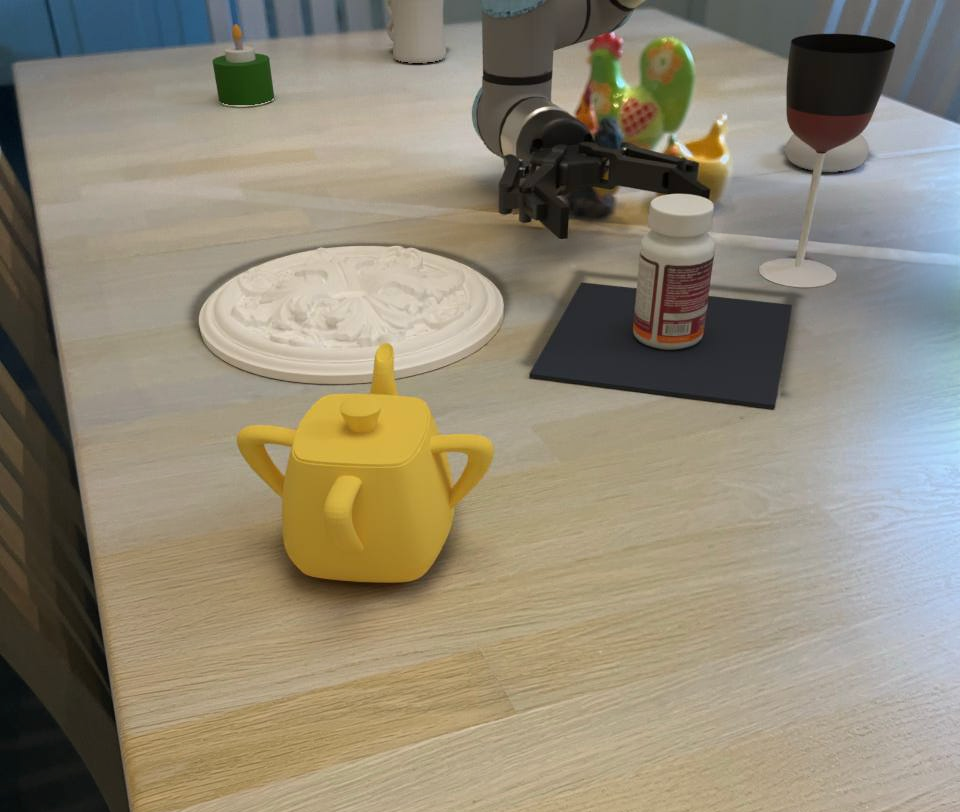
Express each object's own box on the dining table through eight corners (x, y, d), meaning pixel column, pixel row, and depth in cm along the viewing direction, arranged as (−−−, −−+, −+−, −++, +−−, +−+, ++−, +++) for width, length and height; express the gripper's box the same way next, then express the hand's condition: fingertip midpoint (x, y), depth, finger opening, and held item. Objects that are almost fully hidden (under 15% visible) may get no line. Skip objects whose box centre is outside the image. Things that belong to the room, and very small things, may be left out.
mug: (457, 58, 173) (456, -11, 166) (419, 67, 168) (416, -3, 161) (407, 48, 179) (404, -19, 172) (369, 57, 174) (364, -12, 168)
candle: (220, 109, 149) (207, 31, 143) (218, 95, 155) (205, 20, 149) (276, 105, 151) (266, 28, 144) (272, 91, 157) (262, 17, 150)
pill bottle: (714, 332, 89) (734, 200, 82) (682, 358, 86) (700, 222, 78) (652, 316, 92) (666, 186, 85) (619, 340, 88) (630, 206, 81)
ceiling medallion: (177, 282, 100) (170, 250, 98) (442, 242, 108) (441, 211, 106) (234, 409, 81) (227, 372, 78) (553, 348, 88) (554, 313, 86)
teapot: (236, 526, 68) (208, 387, 62) (396, 465, 74) (386, 331, 67) (339, 632, 60) (318, 485, 53) (510, 555, 66) (512, 412, 59)
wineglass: (752, 255, 104) (790, 32, 91) (840, 260, 103) (891, 35, 90) (752, 284, 98) (792, 51, 85) (845, 291, 97) (900, 55, 84)
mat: (791, 308, 94) (792, 304, 94) (774, 409, 80) (775, 404, 80) (580, 286, 99) (581, 282, 98) (529, 377, 84) (529, 373, 84)
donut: (771, 169, 126) (851, 180, 122) (775, 139, 124) (857, 149, 119) (799, 148, 132) (876, 159, 128) (804, 120, 130) (882, 129, 126)
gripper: (654, 173, 110) (753, 239, 95) (434, 199, 104) (502, 274, 89) (661, 97, 105) (767, 154, 90) (431, 120, 99) (503, 185, 84)
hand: (636, 214), depth 90 cm, fingers open, 13 cm apart
